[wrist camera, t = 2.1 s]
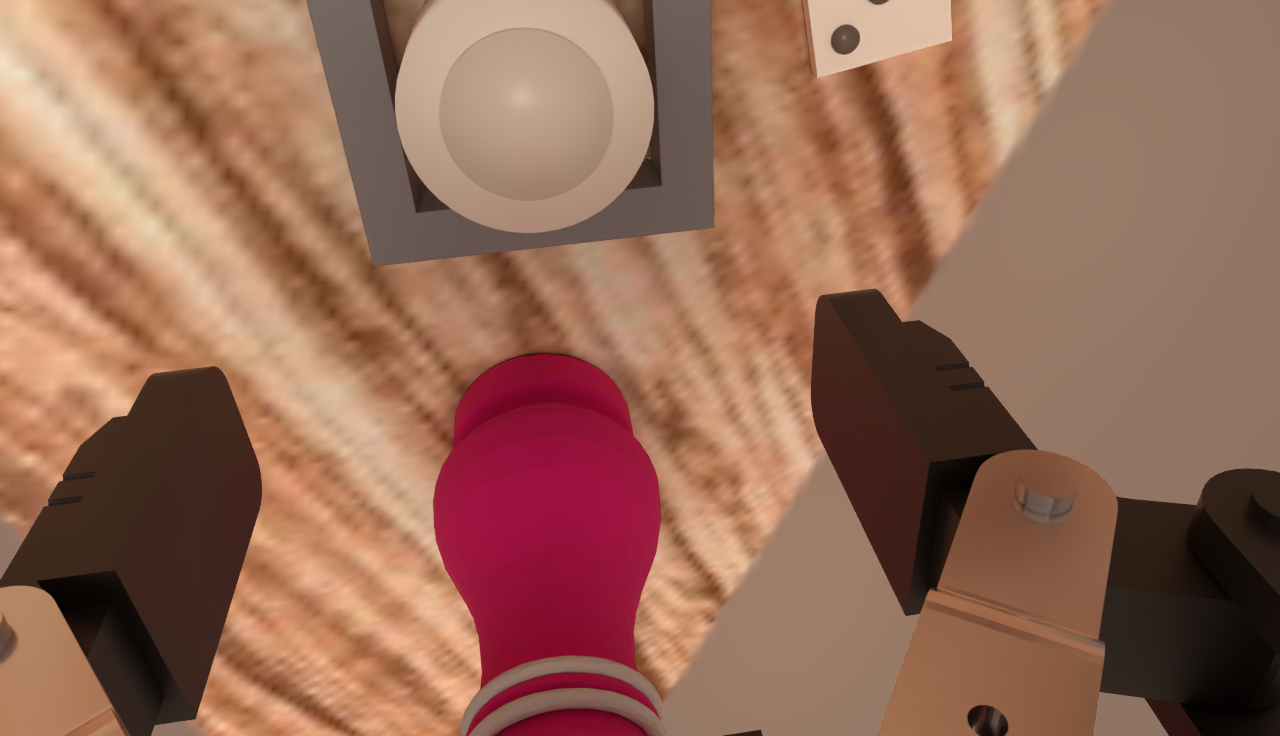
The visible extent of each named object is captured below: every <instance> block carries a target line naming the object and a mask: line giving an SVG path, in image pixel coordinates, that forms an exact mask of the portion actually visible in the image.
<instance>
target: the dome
mask: <svg viewBox="0 0 1280 736" xmlns="http://www.w3.org/2000/svg"><path fill="white" fill-rule="evenodd" d="M395 114H396V121H397V128H398V132H399V136H400V139H401V143H402V146H403V148H404V150H405V153H406V155H407V157H408V160H409V162H410V163H411V165H412V167H413V168H414V170H415V172H416V173H417V175H418V176H419V178H420V179H421V180H422V181H423V183H424V184H425V185H426V187H427V188H428V189H429V190H430V191H431V192H432V193H433V194H434V195H435V196H436V197H437V198H438V199H439V200H440V201H442V202H443V203H444V204H446V205H447V206H448V207H449V208H451V209H452V210H454V211H455V212H457V213H459V214H460V215H462V216H464V217H465V218H467V219H470V220H472V221H474V222H476V223H479V224H481V225H484V226H487V227H490V228H494V229H497V230H503V231H508V232H518V233H539V232H547V231H553V230H559V229H562V228H565V227H569V226H572V225H575V224H577V223H579V222H581V221H584V220H586V219H588V218H590V217H591V216H593V215H595V214H596V213H598V212H600V211H601V210H602V209H604V208H605V207H606V206H608V205H609V204H610V203H611V202H613V201H614V200H615V199H616V198H617V197H618V196H619V195H620V194H621V193H622V192H623V191H624V190H625V188H626V187H627V186H628V184H629V183H630V182H631V181H632V179H633V178H634V176H635V174H636V173H637V171H638V169H639V168H640V166H641V164H642V162H643V159H644V157H645V155H646V152H647V150H648V146H649V143H650V139H651V135H652V129H653V122H654V98H653V90H652V84H651V80H650V76H649V72H648V69H647V67H646V64H645V62H644V59H643V57H642V54H641V52H640V50H639V48H638V46H637V44H636V42H635V39H634V37H633V35H632V33H631V31H630V29H629V27H628V25H627V23H626V21H625V19H624V17H623V15H622V14H621V12H620V10H619V8H618V7H617V6H616V4H615V3H614V2H613V0H426V2H425V3H424V5H423V7H422V8H421V10H420V12H419V13H418V15H417V18H416V20H415V22H414V25H413V27H412V30H411V33H410V36H409V40H408V43H407V46H406V50H405V53H404V56H403V60H402V63H401V67H400V70H399V74H398V78H397V84H396V92H395Z"/></svg>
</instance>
